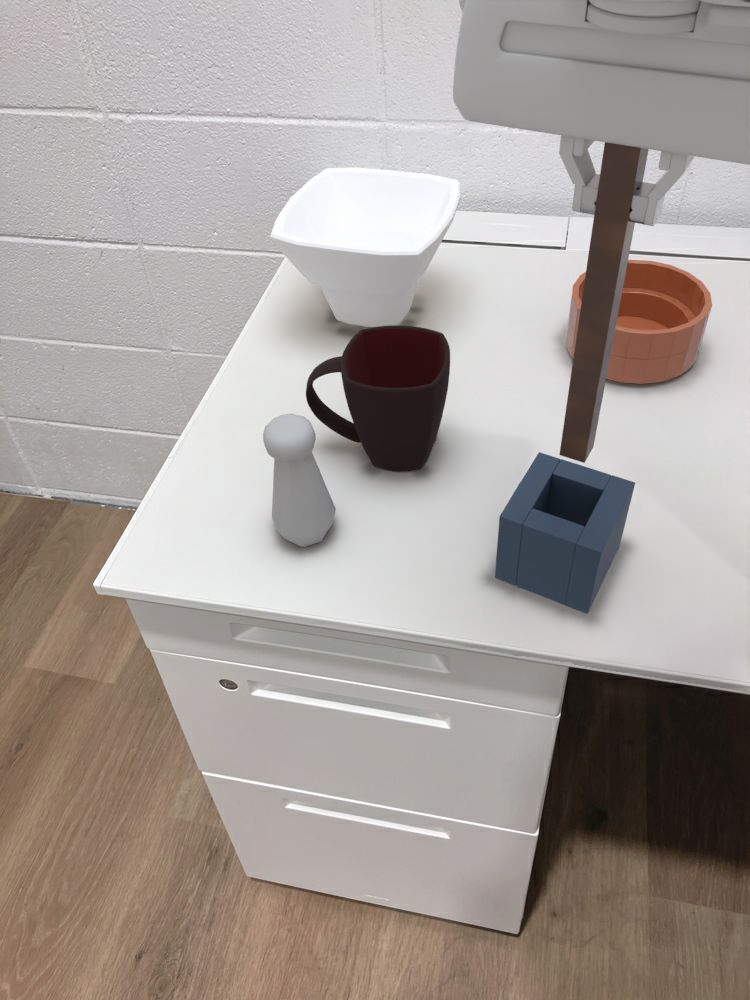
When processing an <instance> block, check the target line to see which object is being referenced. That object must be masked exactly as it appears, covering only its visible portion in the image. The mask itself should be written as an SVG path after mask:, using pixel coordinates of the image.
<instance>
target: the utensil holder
mask: <svg viewBox="0 0 750 1000" xmlns="http://www.w3.org/2000/svg"><path fill="white" fill-rule="evenodd" d="M635 485H636V482H635V481H632V480H628V479H626V478H623V477H619V476H616V475H613V474H612V475H611V474H610V473H607V472H603V471H600V470H597V469H594V468H591V467H588V466H584V465H581V464H579V463H575V462H573V461H569V460H566V459H562V458H559V457H556V456H552V455H550V454H547V453H543V452H541V451H539V452H538V453H537V455H535V458H534V459H533V461H532V463H531V464H530V466H529V467H528V469H527V471H526V472H525V474H524V476H523V477H522V479H521V480H520V482H519V484H518V486H517V487H516V489H515V490H514V492H513V493H512V495H511V496H510V498H509V500H508V502H507V503H506V505H505V506H504V508H503V510H502V511H501V513H500V515H499V521H498V530H497V531H498V532H497V547H496V558H495V559H496V560H495V570H494V571H495V572H494V578H495V579H496V580H497V579H498V580H500V581H503V582H505V583H508V584H509V585H513V586H516V587H518V588H521V589H523V590H525V591H528V592H530V593H533V594H536V595H538V596H540V597H543V598H546V599H548V600H551V601H554V602H556V603H559V604H562V605H564V606H566V607H568V608H571V609H574V610H576V611H579V612H581V613H584V614H589V613H590V610H591V609H592V606H593V604H594V601H595V599H596V597H597V595H598V593H599V591H600V589H601V586H602V584H603V582H604V580H605V578H606V576H607V573H608V571H609V570H610V567H611V565H612V564H613V561H614V559H615V557H616V554H617V553H618V551H619V548H620V547H621V546H620V545H621V542H622V539H623V535H624V531H625V526H626V522H627V519H628V514H629V510H630V506H631V502H632V498H633V495H634V494H633V493H634V490H635Z"/></svg>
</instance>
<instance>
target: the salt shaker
mask: <svg viewBox="0 0 750 1000" xmlns="http://www.w3.org/2000/svg"><path fill="white" fill-rule="evenodd" d="M316 439H317V436H316V432H315V429H314V427H313V424H312V422H311V420H309V419H308V418H306V417H305V416H303V415H300V414H295V413H285V414H280V415H278V416H276V417H274V418H272V419H271V420H270V421H269V422H268V423H267V424H266V425H265V426H264V429H263V433H262V441H263V444H264V447H265V450H266V453H267V454H268V455H269V456H270V457H271V458H273V477H272V480H273V481H272V498H271V499H272V500H271V519H272V522H273V524H274V528H275V529H276V531H277V532H278V533H279V534H280V536H282V537H283V538H284V539H285V540H286V541H288V542H290V543H292V544H294V545H296V546H299V547H301V548H306V547H310V546H312V545H316V544H319V543H322V542H323V540H324V538H325V536H326V534H327V533H328V531H329V530H330V528H331V527H332V525H333V524H334V521H335V516H336V506H335V504H334V502H333V499H332V496H331V494H330V492H329V489H328V487H327V484H326V481H325V480H324V477H323V475H322V473H321V470H320V468H319V466H318V462H317V461H316V458H315V456H314V454H313V450H314V448H315V445H316V444H315V443H316Z"/></svg>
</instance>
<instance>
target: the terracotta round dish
mask: <svg viewBox="0 0 750 1000" xmlns="http://www.w3.org/2000/svg"><path fill="white" fill-rule="evenodd" d="M585 275H586V271H584V272H583V273H581V274H579V276H578V277H577V279H576V280H575V282H574V283H573V284H572V288H571V297H570V303H569V312H568V318H567V319H568V320H567V326H566V335H565V346H566V348H567V350H568V353H569V355H570V357H571V358H572V359H573V358H574V351H575V344H576V337H577V330H578V323H579V316H580V310H581V303H582V296H583V289H584V282H585ZM712 307H713V302H712V293H711V291H710V290H709V288H707V286H706V285H705V284H704V282H703V281H702V280H700V279H699V278H697V277H696V276H695V275H693V274H691V272H688V271H686V270H685V269H682V268H680V267H677V266H675V265H672V264H668V263H665V262H664V263H663V262H658V261H653V260H645V259H644V260H643V259H628V263H627V269H626V274H625V279H624V285H623V290H622V296H621V301H620V306H619V312H618V317H617V323H616V328H615V333H614V339H613V344H612V349H611V355H610V360H609V366H608V371H607V376H606V380H612V381H615V382H619V383H626V384H627V383H628V384H641V385H644V384H653V383H661V382H666V381H668V380H671V379H674V378H677V377H680V376H681V375H683V374H684V373H685V372H686V371H688V370H689V369H690V368H692V367H693V366H694V364H695V362H696V360H697V358H698V357H699V353H700V349H701V346H702V344H703V343H702V342H703V338H704V335H705V331H706V328H707V325H708V321H709V317H710V314H711V312H712V311H711V310H712Z"/></svg>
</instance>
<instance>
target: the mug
mask: <svg viewBox="0 0 750 1000" xmlns="http://www.w3.org/2000/svg"><path fill="white" fill-rule="evenodd" d="M447 339H448V338H446V336H445V334H444V333H442V332H440V331H437V330H435V329H431V328H427V327H421V326H415V325H401V324H399V325H391V326H378V327H366V328H362V329H360V330H359V331H358V332H356V334H354V335H353V337H352V338H351V339H349V342H348V343H347V344H346V346H345V347H344V349H343V352H342V355H340V356H334V357H331V358H328V359H326V360H324V361H322V362H321V363H319V364H317V366H315V367H314V369H312V371H311V373H310V374H309V376H308V378H307V381H306V388H305V399H306V402H307V405H308V407H309V409H310V410H311V412H312V414H313V415H314V416H315V418H316V419H318V420H319V421H320V422H321V423H322V424H323V425H324V426H326V428H328V429H330V430H331V431H333V432H334V433H336V434H338V435H339V436H341V437H343V438H344V439H347V440H349V441H351V442H354V443H358V444H361V446H362V448H363V451H364V452H365V454H366V456H367V458H368V459H369V461H370V463H371V464H372V466H373V467H375V468H377V469H380V470H383V471H387V472H394V473H395V472H396V473H407V472H415V471H420V470H422V468H424V466H425V465H426V463H427V462H428V460H429V458H430V455H431V453H432V450H433V448H434V446H435V443H436V441H437V437H438V433H439V431H440V427H441V423H442V420H443V419H442V418H443V414H444V409H445V405H446V400H447V395H448V391H449V384H450V383H449V381H450V373H451V372H450V371H451V349H450V345H449V342H448V340H447ZM335 373H340V375H341V381H342V386H343V392H344V397H345V400H346V404H347V408H348V411H349V414H350V416H351V419H352V420H351V421H350V420H348V419H346V418H345V417H342V415H340V414H338V413H336V412H335V411H334V410H333V409H331V408H330V407H329V406H328V405H327V404H325V403H324V402H323V400H322V399H321V398H320V397H319V395H318V393H317V392H316V390H315V388H314V382H315V380H317V379H318V378H321V377H323V376H325V375H329V374H335Z"/></svg>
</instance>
